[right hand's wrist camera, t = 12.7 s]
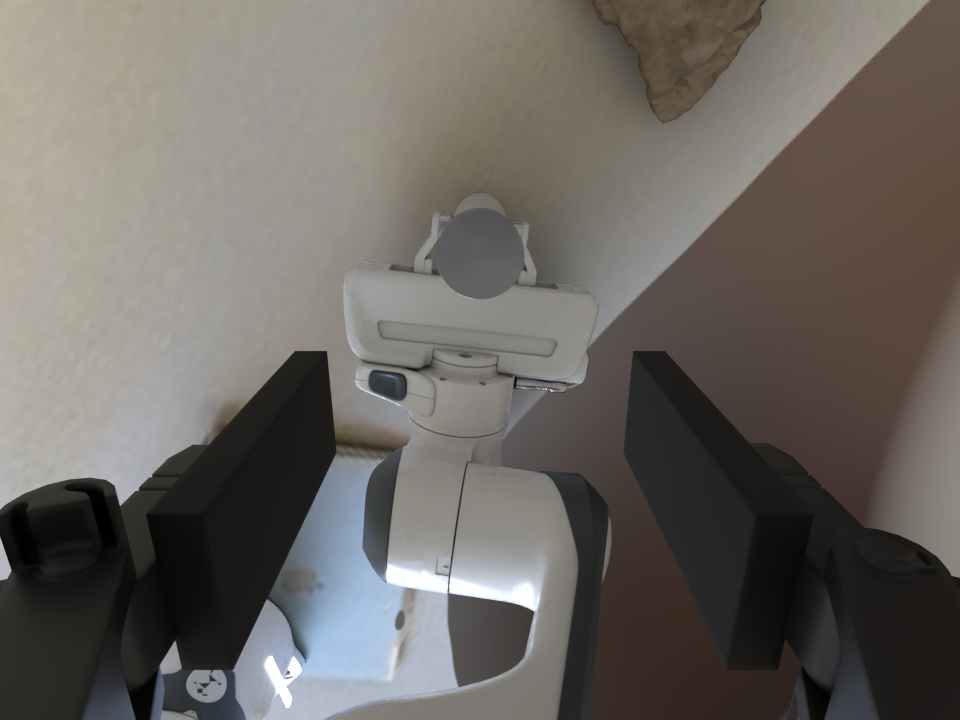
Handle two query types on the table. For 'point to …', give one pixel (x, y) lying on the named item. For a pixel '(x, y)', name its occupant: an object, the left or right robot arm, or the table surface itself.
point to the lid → (480, 254)
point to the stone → (681, 44)
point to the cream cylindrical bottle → (479, 203)
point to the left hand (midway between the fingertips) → (480, 217)
